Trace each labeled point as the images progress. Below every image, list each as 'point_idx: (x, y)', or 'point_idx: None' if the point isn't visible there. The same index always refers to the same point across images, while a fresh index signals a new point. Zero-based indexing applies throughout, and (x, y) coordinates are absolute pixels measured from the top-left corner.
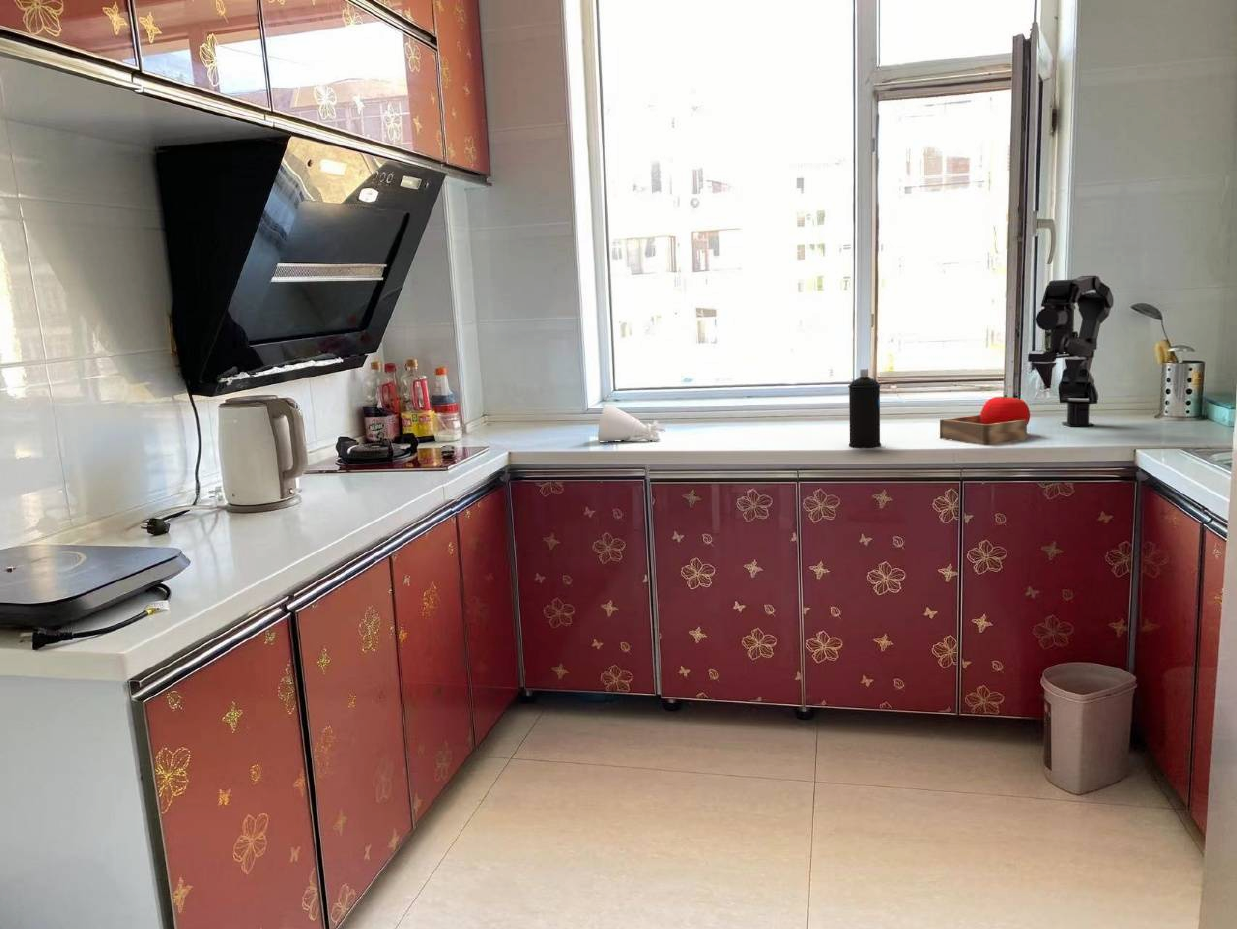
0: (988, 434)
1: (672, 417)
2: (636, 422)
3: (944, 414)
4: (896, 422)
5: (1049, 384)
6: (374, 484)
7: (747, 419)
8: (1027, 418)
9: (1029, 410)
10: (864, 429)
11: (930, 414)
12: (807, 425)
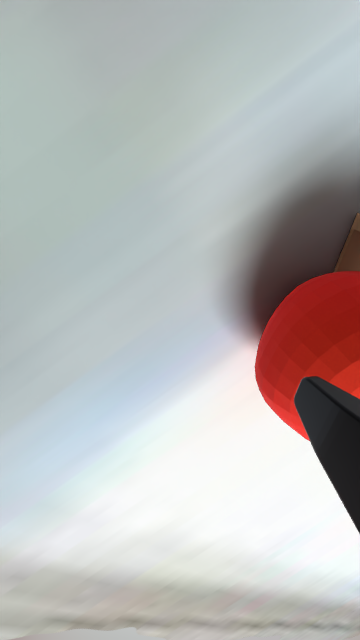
0: None
1: (313, 632)
2: None
3: (55, 609)
4: (221, 558)
5: (352, 395)
6: None
7: (295, 614)
8: (355, 277)
9: (344, 310)
10: None
11: (78, 613)
12: (317, 567)
